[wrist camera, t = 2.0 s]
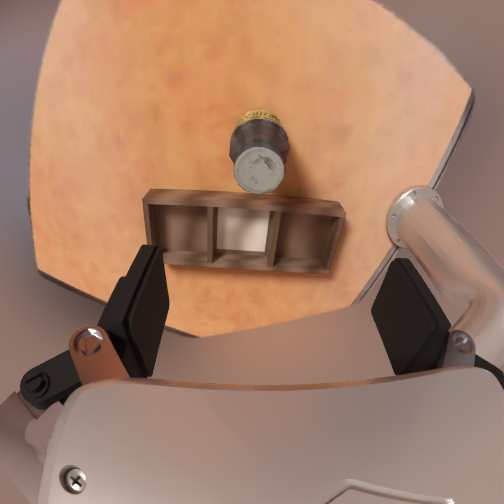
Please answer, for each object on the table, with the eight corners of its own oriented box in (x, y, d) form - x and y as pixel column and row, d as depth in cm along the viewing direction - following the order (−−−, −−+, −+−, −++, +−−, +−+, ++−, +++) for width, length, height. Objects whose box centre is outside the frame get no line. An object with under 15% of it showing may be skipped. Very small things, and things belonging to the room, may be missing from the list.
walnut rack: (338, 201, 44) (345, 212, 41) (323, 260, 51) (328, 273, 47) (150, 188, 42) (142, 199, 39) (156, 249, 49) (150, 263, 45)
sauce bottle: (277, 105, 36) (303, 125, 19) (283, 146, 39) (310, 200, 23) (231, 111, 36) (215, 137, 20) (238, 152, 40) (231, 211, 23)
